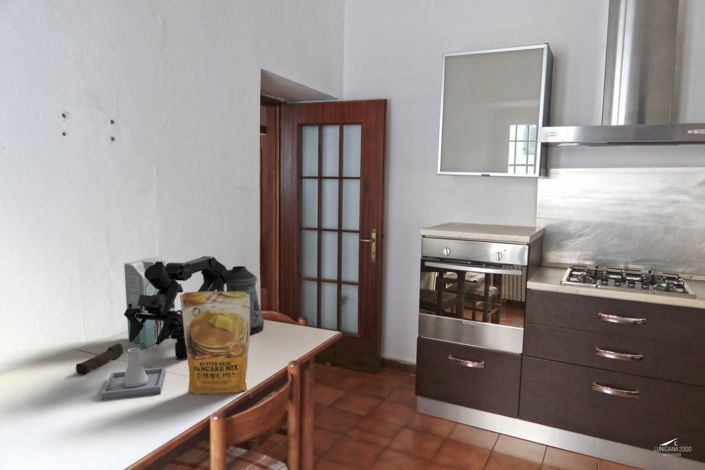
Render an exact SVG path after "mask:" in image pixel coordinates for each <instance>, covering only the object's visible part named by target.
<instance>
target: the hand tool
mask: <svg viewBox="0 0 705 470" xmlns="http://www.w3.org/2000/svg"><path fill="white" fill-rule="evenodd" d="M123 355H124V347H123V345H122V343H115V344H113V345H110V346H108V347H107V350H105V351H103V352H101V353H99V354H98V355H94V356H93V357H91V358H89V359H86V360H85V361H82V362H79V363H76V365H75V370H76V373H77V375H81V376H86V375H87V374H89V373H91V371H93V370H94V369H96V368H99V367H101V366H103V365H105V364H106V363H108V362H110V361H116V360H117V359H119V358H120V357H122V356H123Z"/></svg>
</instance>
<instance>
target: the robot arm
mask: <svg viewBox="0 0 705 470" xmlns="http://www.w3.org/2000/svg"><path fill="white" fill-rule="evenodd" d="M167 263H168V264H166V267H165V266H164V264H163V262H158V261H156V263H155V264H154V265H152V266H150V267H149V268H148V269H146V270H145V273H144V276H145V278H146V279H147V280H148V281H149V282H150V283H151V284H152V286H153V287H154V288H156V289H159V290H158V292H157V294H156V295H152V296H150V295H139V300H138V304H137V306H143V307H144V310H145V311H148V312H147V313H143V312H142V311H141V310H140V309H139V308H127V307H126V309H125V312H124V314H123V316H125V318H126V320H127V319H128V320H129V321H130V336H129V338H128V343H129V342H131V343H132V342H133V341H134V340H135V338H136V337H137V335H138V334H139V332H140V331H141V330H142V328H143V327H144V325H143V323H145V322H146V320H157V321H163V327H162V329H161V331H160V334H159V336H158V338H157V341H156V344H155V346H159V345H161V344H162V343H163V342H164V341H166V340H167V339H166V338H168V337H169V336H170V335H171V337H170V338H171V340H176V341H175V343H174V355H175V357H176V360H188V358H187V348H186V343H185V336H184V328H183V316H182V309H177V310H175V311H170V309H171V308H174V307H175V308H176V304H175V305H174V304H173V302H174V300H176V298H177V296H178V293H182V294H183V293H184V288H183V287H182V284H181V283H179V282H185V281H186V282H187V280H189V279H191V278H192V277H193V275H194V274H196V273H198V272H200V274H201V275H202V278H203V279H202V280H203V283H202V285H201V286H200V288H199V289H198V290H197V292H205V291H217V290H216V289H218V288H220V287H222V286H223V285H224V286H225V285H226V284H225V283H226V282H227V280H228V279H229V272H228V270H229V269H227V267H226V266H225V265H224V264H222V263H221V262H220V261H218V260H217V258H216V257H214V256H207V255H206V256H201V257H198V258H195V259H191V260H188V261H184V262H167ZM178 281H179V282H178ZM165 339H166V340H165ZM168 339H169V338H168Z"/></svg>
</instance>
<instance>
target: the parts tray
mask: <svg viewBox="0 0 705 470" xmlns="http://www.w3.org/2000/svg"><path fill="white" fill-rule="evenodd" d="M166 369H167V368H166V367H165V366H163V367H156V368H155V367H154V368H145V369H144V370H145V372H146V374H147V376H148V379H149V381H148V382H147V384H144V385H141V386H138V387H127V388H126V387H124V386H123V385H122V382H123V379H124V376H125V373H126V370H124V371H117V372H116V371H115V372H111V373H110V376H109V377H108V379H107V381H106V383H105V385H104V386H103V388H102V390H101V392H100V401H106V400H105V399H108V400H115V399H116V400H117V399H124V398H125V399H126V398H134V397H143V396H152V395H153V396H154V395H161V393H162V389H163V385H164V382H165V379H166V375H167V371H166ZM165 374H166V375H165ZM164 378H165V379H164Z"/></svg>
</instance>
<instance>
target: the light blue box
mask: <svg viewBox="0 0 705 470" xmlns="http://www.w3.org/2000/svg"><path fill="white" fill-rule="evenodd" d="M156 261H158V262H163V264H164V266H165V267H166V264H168V263H169V262H168V261H167V260H166V259H165V258H163V257H162V256H152V257H148V258H144V259H139V260H135V261H130V262H125V263H123V264H124V266H123V268H124V284H125V300H126V303H125V305H126V309H127V308H139V309H140V310H141V311H142V312H143V313H147V312H148V311H145V310H144V307H143V306H137V304H138V300H139V295H150V296H152V295H156V294H157V292H158V290H159V289H156V288H154V287H153V286H152V284H151V283H150V282H149V281H148V280H147V279H146V278H145V276H144V273H145V270H146V269H148V268H149V267H150V266H152V265H154V264H155V263H156ZM175 300H176V299H175ZM175 300H174V302H173V304H174V305H175V307H174V308H171V309H170V311H176V304H175V303H176V302H175ZM126 320H127V337H128V339H129V336H130V321H129V320H128V319H127V318H126ZM143 325H144V327H143V328H142V330H141V331H140V332H139V334H138V335H137V337H136V338H135V340H134V341H133V342H132V343H131V342H129V341H128V347H129V348H139V349H142V350H147V349H148V348H150V347H153V346H154V345H155V346H156V341H157V338H158V336H159V334H160V331H161V329H162V327H163V321H157V320H146V322H145V323H143ZM170 338H171V335H170V336H169V337H168V338H166V339H165V340H164V341H166V340H168V339H170Z"/></svg>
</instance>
